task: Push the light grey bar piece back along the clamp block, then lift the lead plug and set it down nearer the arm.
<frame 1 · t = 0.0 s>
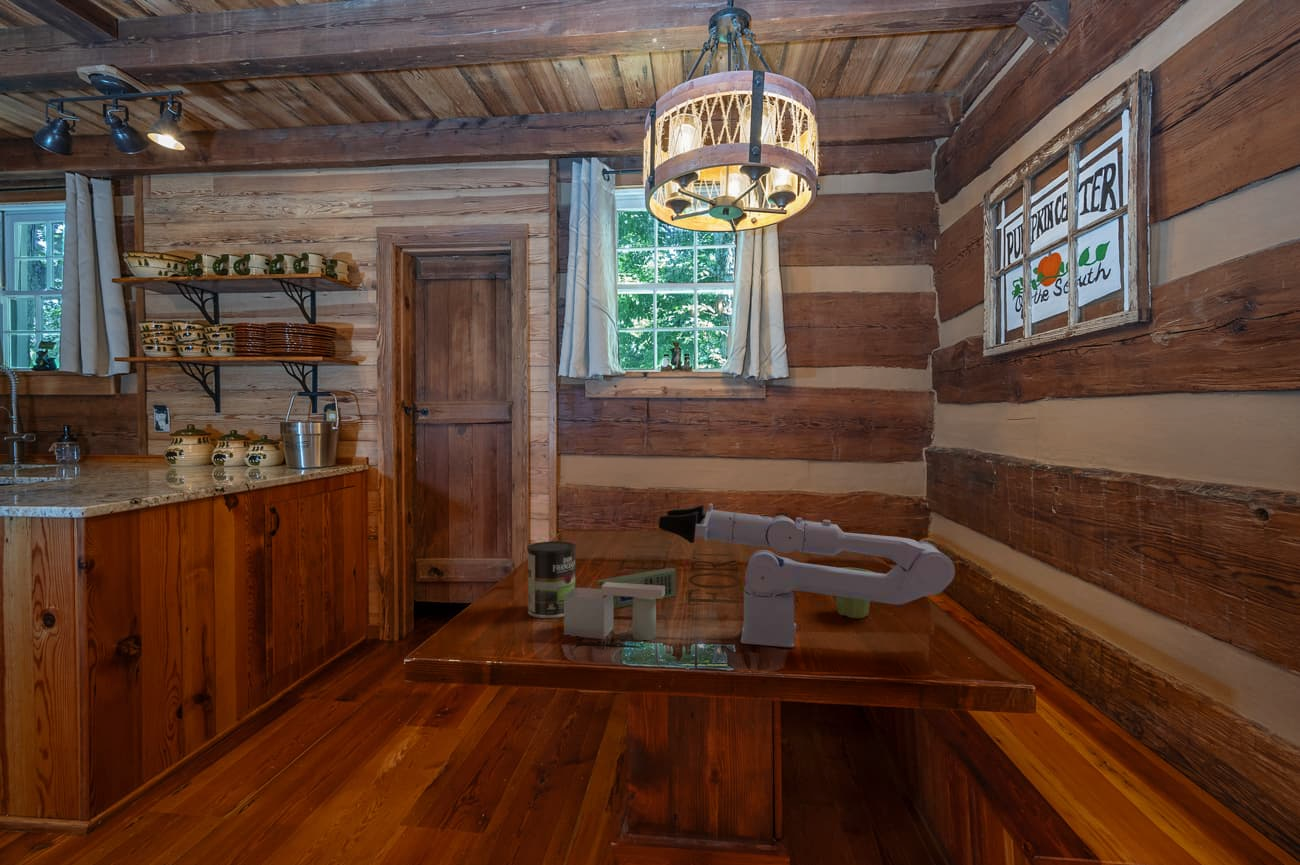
hand: (663, 518, 109), 22 cm above the table, tool horizontal, fingers open, 7 cm apart
lead plug: (644, 636, 106), on the table
coffee can: (551, 611, 121), on the table
light grey bar piece: (633, 590, 107), point 9 cm above the table, slide at 0.0 cm
plant pot: (852, 615, 119), on the table
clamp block: (589, 631, 109), on the table
handheld radio: (628, 606, 126), on the table
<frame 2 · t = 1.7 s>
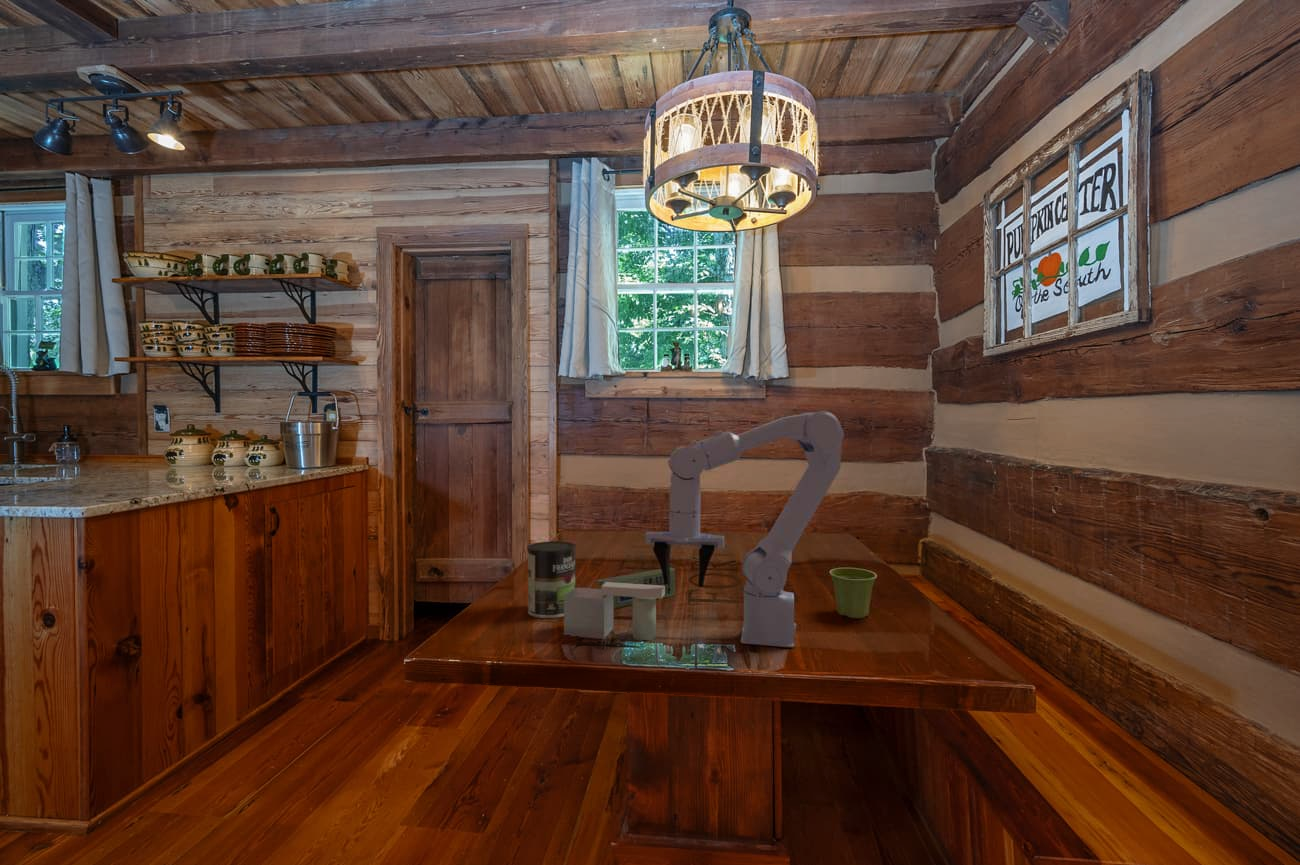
hand: (683, 584, 104), 10 cm above the table, tool pointing down, fingers open, 6 cm apart
nothing on the table moved.
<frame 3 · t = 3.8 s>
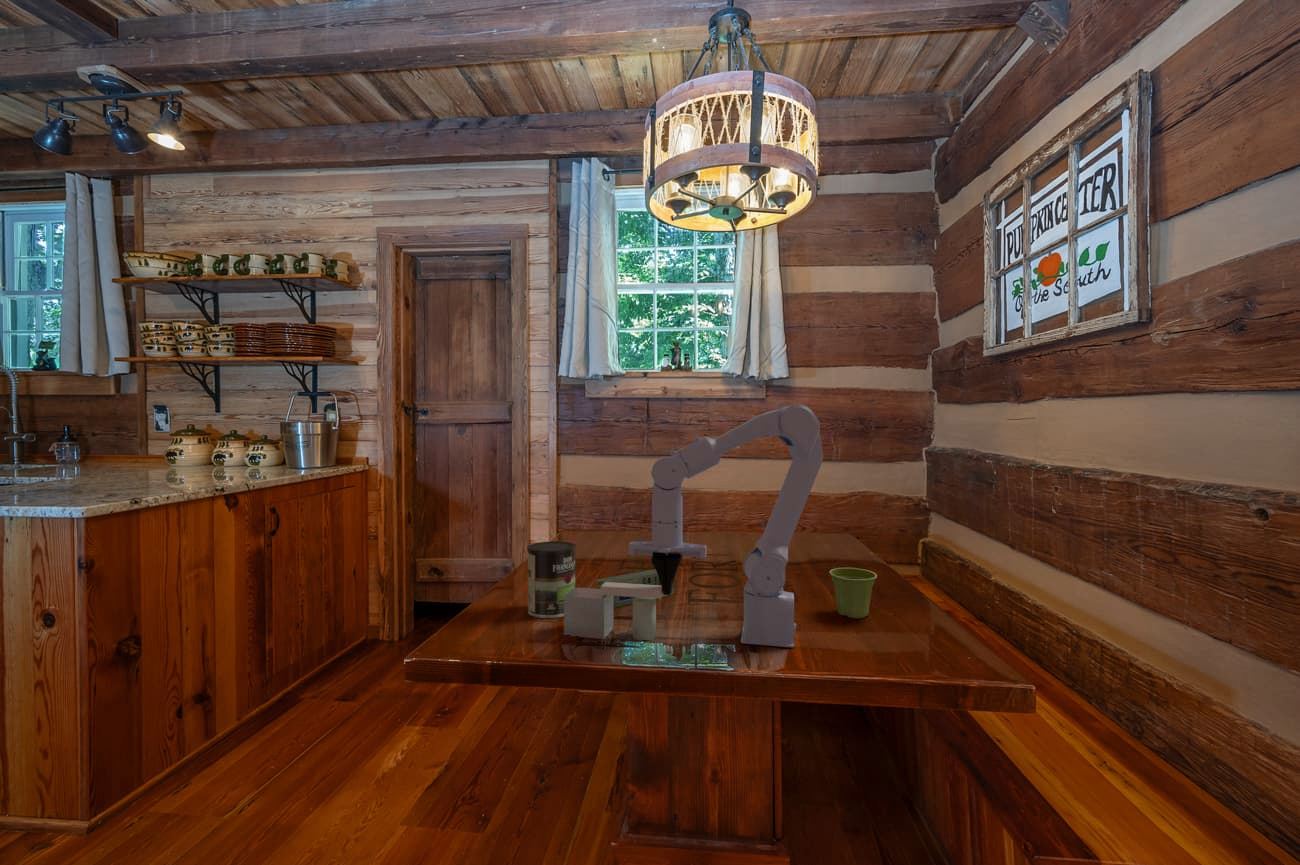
hand: (667, 593, 105), 8 cm above the table, tool pointing down, fingers closed
light grey bar piece: (632, 590, 107), point 9 cm above the table, slide at 0.1 cm, touching gripper
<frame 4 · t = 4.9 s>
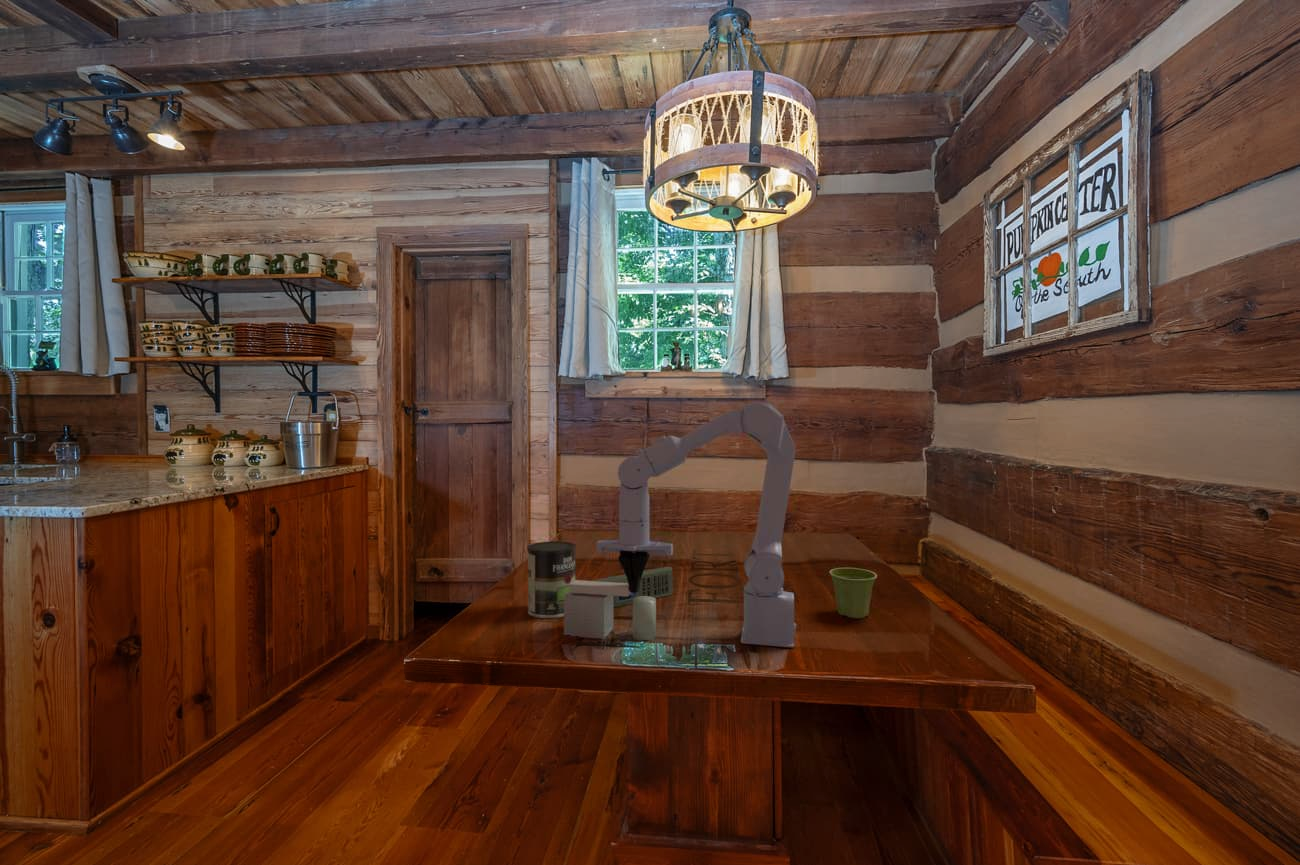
hand: (634, 591, 107), 8 cm above the table, tool pointing down, fingers closed
light grey bar piece: (600, 588, 108), point 9 cm above the table, slide at 6.5 cm, touching gripper
everything else where it was.
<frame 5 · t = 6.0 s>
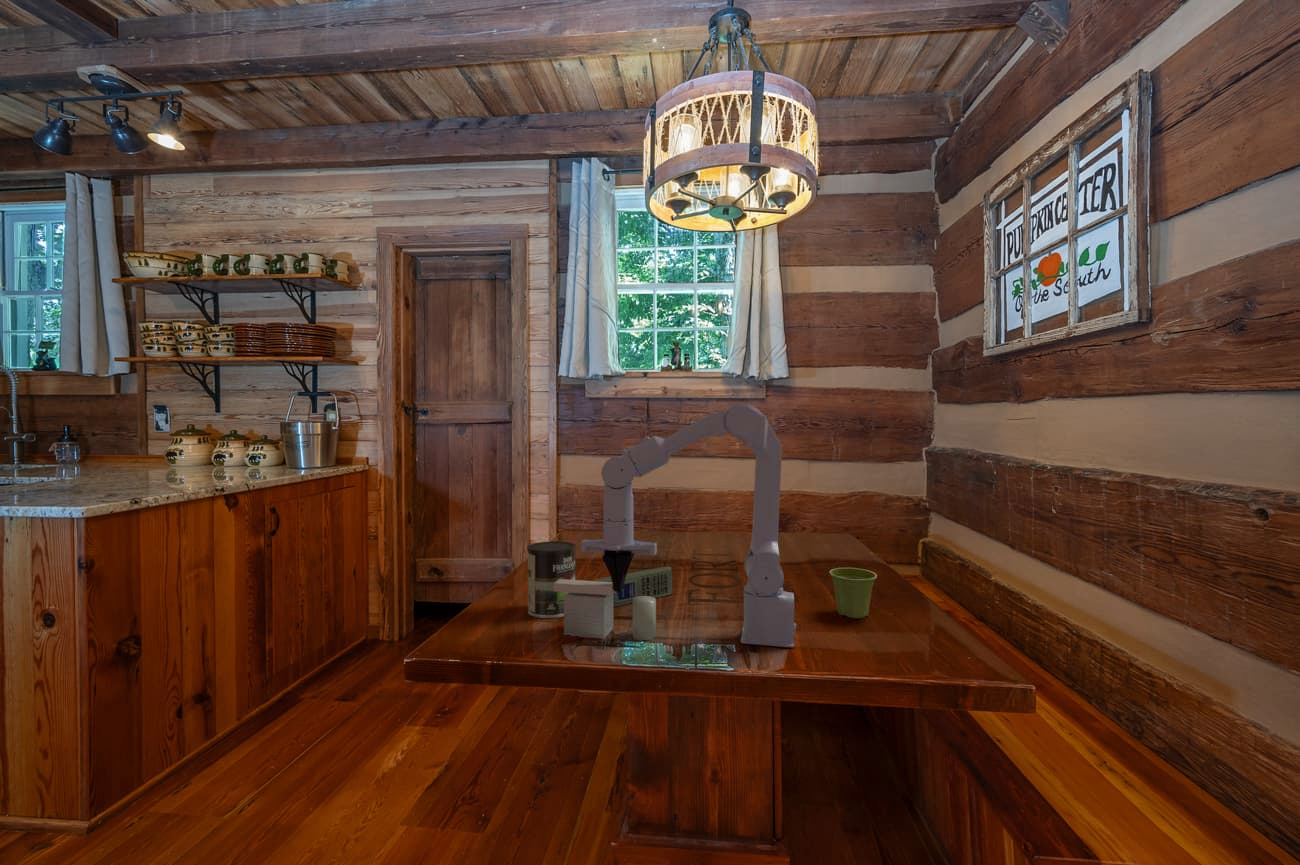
hand: (618, 590, 107), 8 cm above the table, tool pointing down, fingers closed
light grey bar piece: (585, 587, 109), point 9 cm above the table, slide at 9.6 cm, touching gripper
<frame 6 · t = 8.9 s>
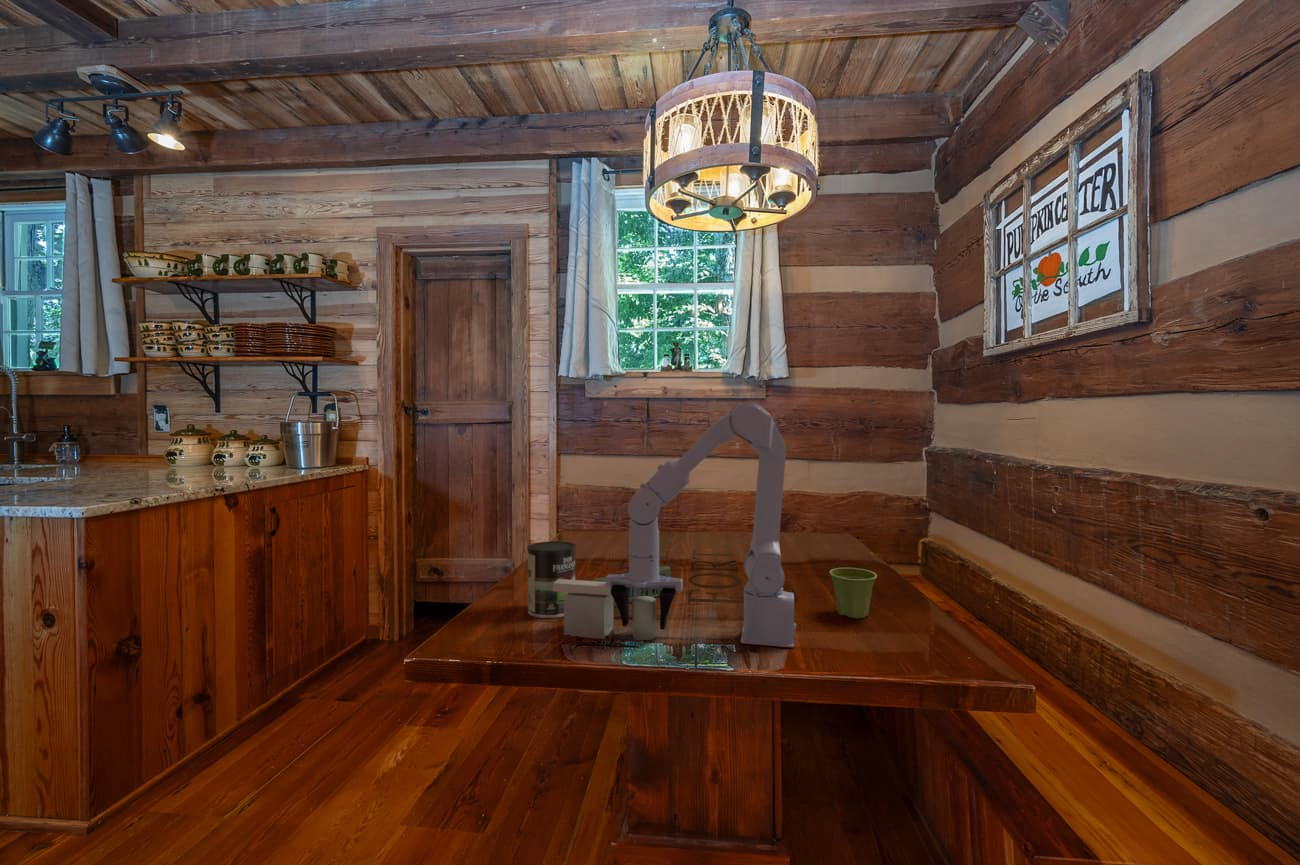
hand: (644, 626, 106), 2 cm above the table, tool pointing down, fingers open, 7 cm apart
light grey bar piece: (584, 586, 109), point 9 cm above the table, slide at 9.9 cm
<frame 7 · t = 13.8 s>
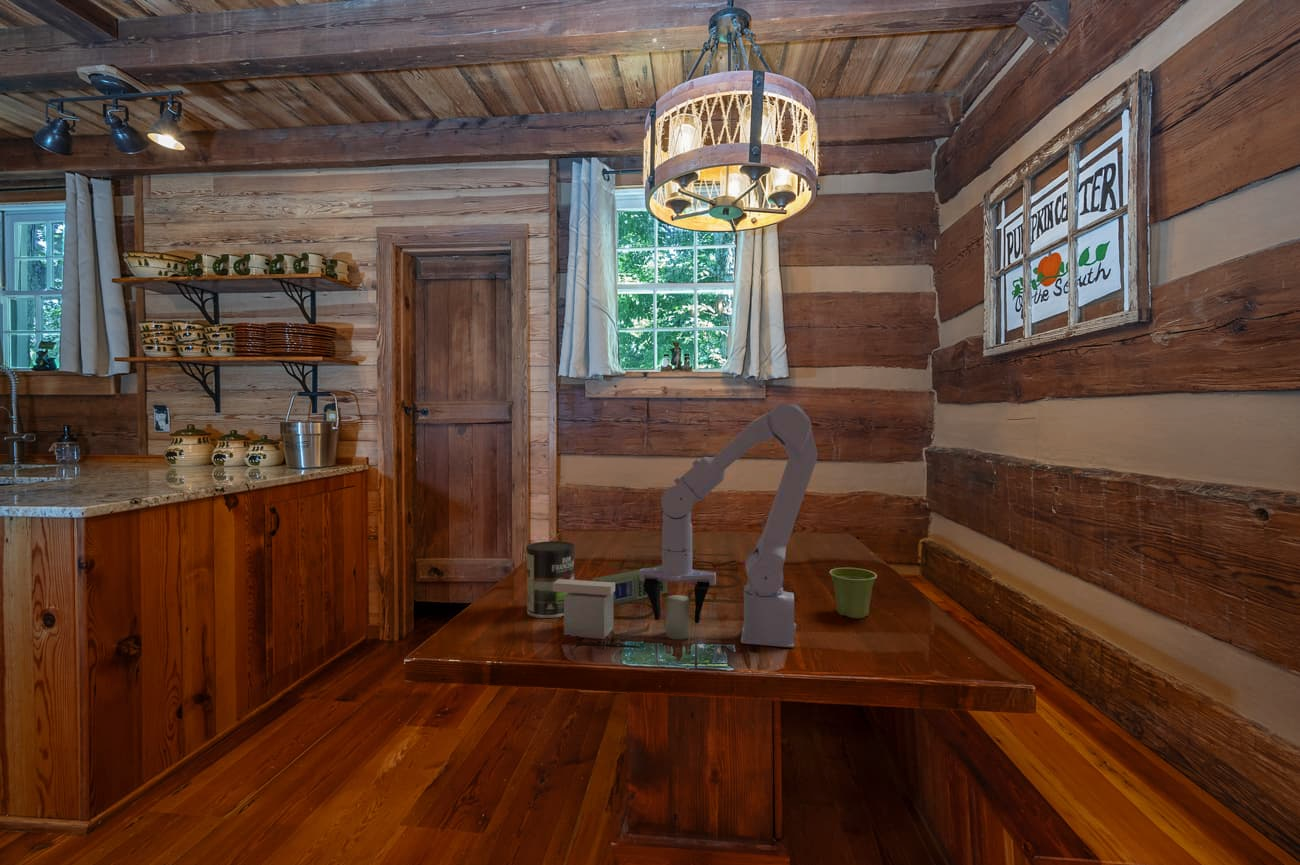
hand: (677, 619, 107), 3 cm above the table, tool pointing down, fingers open, 7 cm apart
lead plug: (677, 635, 107), on the table
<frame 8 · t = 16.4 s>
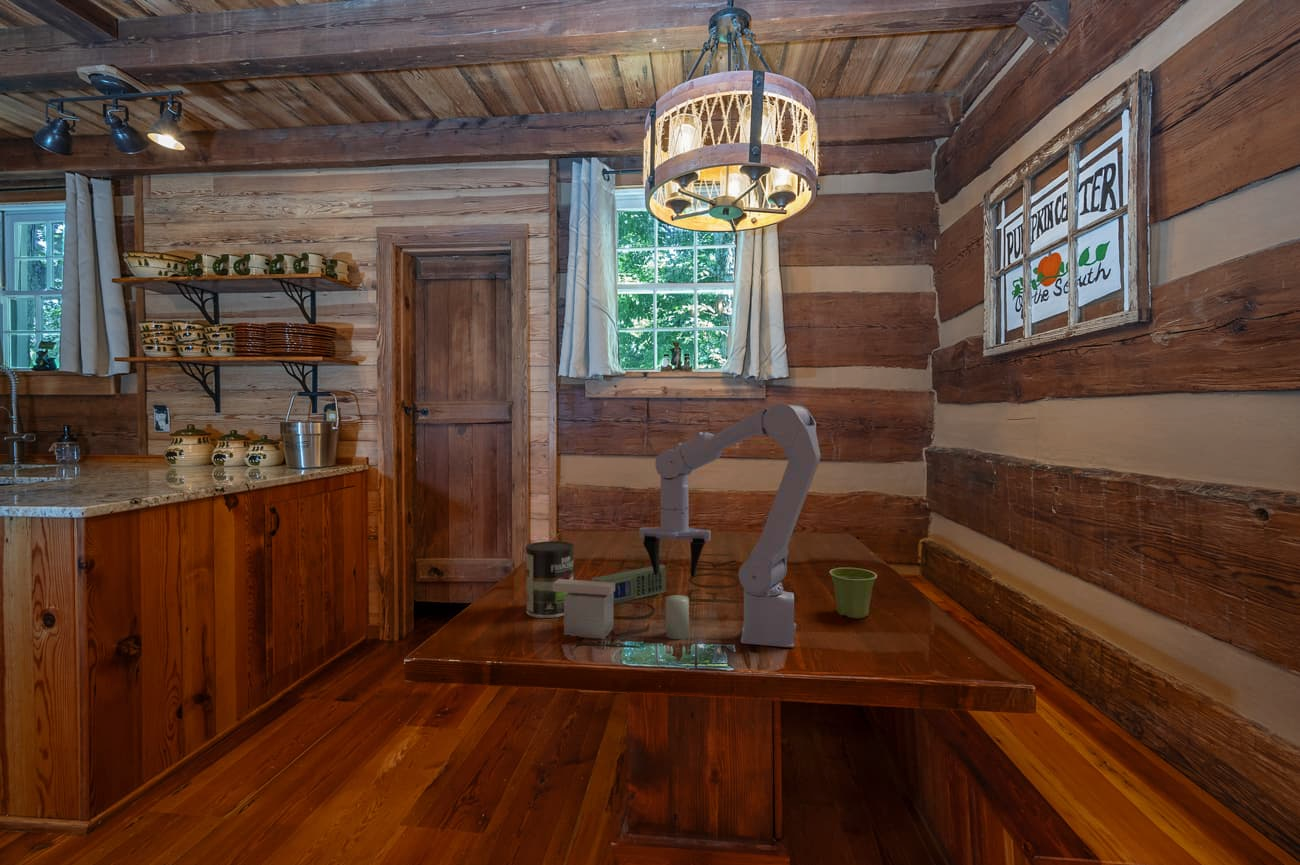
hand: (674, 574, 115), 9 cm above the table, tool pointing down, fingers open, 7 cm apart
at the end: light grey bar piece slide at 9.9 cm; lead plug 0.0 cm from the target spot, on the table; lead plug tilted 0° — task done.
